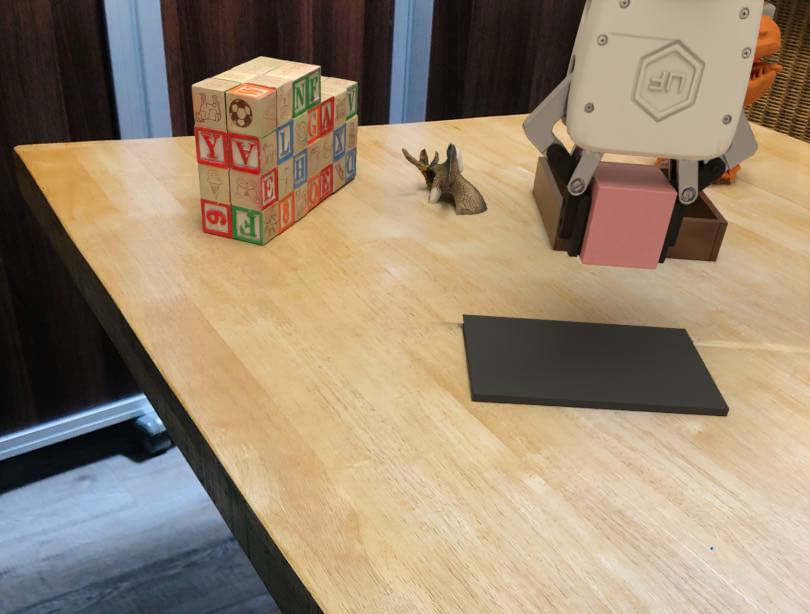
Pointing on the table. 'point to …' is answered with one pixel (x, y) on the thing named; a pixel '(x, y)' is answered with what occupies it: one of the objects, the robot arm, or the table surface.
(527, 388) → the mat
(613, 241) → the pink block
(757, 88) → the toy dinosaur
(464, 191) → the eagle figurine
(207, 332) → the table surface
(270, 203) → the stack of blocks
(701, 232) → the crate
